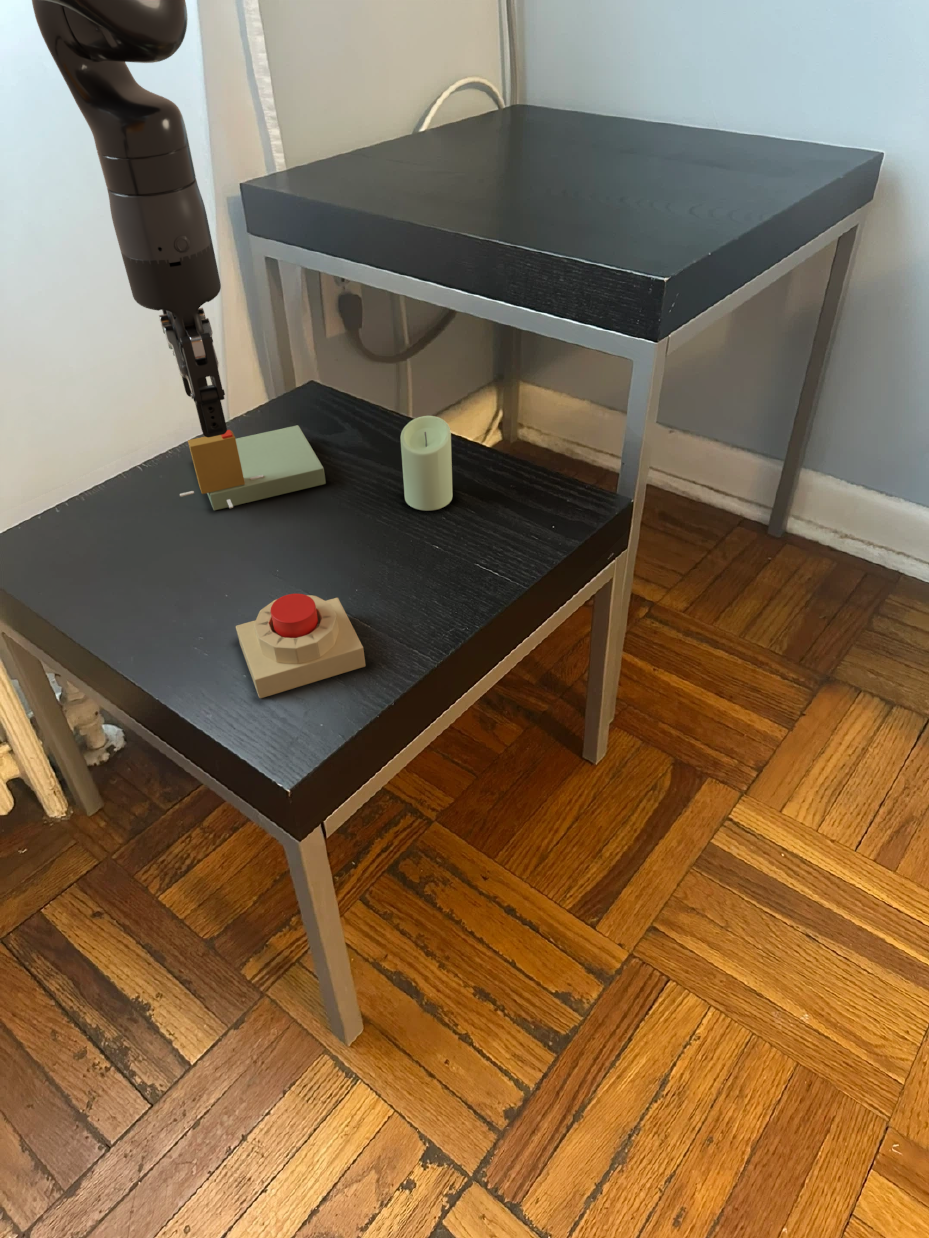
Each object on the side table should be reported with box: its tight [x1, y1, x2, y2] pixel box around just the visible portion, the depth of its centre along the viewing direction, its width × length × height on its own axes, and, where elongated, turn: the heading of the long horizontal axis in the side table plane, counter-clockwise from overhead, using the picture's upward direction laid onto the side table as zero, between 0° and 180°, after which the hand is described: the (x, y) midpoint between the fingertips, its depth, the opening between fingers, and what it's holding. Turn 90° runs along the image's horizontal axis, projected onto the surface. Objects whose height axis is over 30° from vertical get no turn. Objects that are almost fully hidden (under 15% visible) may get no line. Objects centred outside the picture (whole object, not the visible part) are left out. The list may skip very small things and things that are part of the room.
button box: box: [235, 594, 366, 699], centre depth 73 cm, size 9×7×4 cm
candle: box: [400, 415, 453, 512], centre depth 89 cm, size 5×5×8 cm
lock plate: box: [179, 425, 327, 511], centre depth 93 cm, size 15×13×2 cm
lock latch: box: [187, 429, 245, 495], centre depth 88 cm, size 4×1×6 cm, turn 113°
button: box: [270, 593, 318, 638], centre depth 71 cm, size 4×4×2 cm
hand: (206, 413), depth 85 cm, fingers open, 8 cm apart
